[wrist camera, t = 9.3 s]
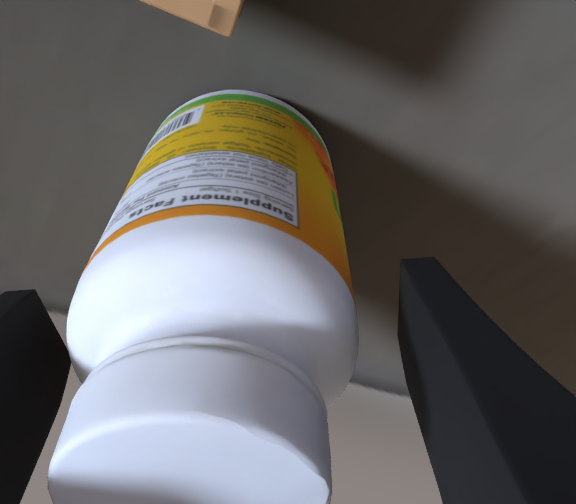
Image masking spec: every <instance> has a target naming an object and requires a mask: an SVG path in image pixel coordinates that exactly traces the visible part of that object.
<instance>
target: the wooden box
mask: <svg viewBox="0 0 576 504" xmlns="http://www.w3.org/2000/svg"><path fill="white" fill-rule="evenodd" d="M139 1H142V2H144V3H146V4H149V5H151V6H154V7H156V8H158V9H161V10H163V11H166V12H168V13H170V14H173V15H175V16H178V17H180V18H182V19H185V20H187V21H190V22H192V23H194V24H197V25H199V26H201V27H204V28H206V29H209V30H211V31H213V32H216V33H218V34H221V35H223V36H225V37H231V36H232V34H233V31H234V28H235V25H236V23H237V20H238V18H239V16H240V14H241V11H242V8H243V5H244V2H245V0H139Z"/></svg>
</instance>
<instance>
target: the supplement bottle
mask: <svg viewBox="0 0 576 504" xmlns="http://www.w3.org/2000/svg"><path fill="white" fill-rule="evenodd" d="M66 337H67V344H68V352H69V356H70V359H71V362H72V365H73V368H74V370H75V372H76V374H77V376H78V378H79V380H80V381H81V383H82V386H81V387H80V388H79V389H78V391H77V393H76V395H75V396H74V398H73V400H72V403H71V406H70V409H69V412H68V416H67V419H66V422H65V424H64V427H63V430H62V433H61V435H60V438H59V441H58V443H57V446H56V449H55V451H54V454H53V457H52V460H51V462H50V465H49V471H48V490H49V493H50V496H51V499H52V501H53V504H330V501H331V495H332V477H331V456H330V445H329V434H328V423H327V410H328V409H329V408H330V407H331V406H332V405H333V404H334V403H335V402H336V401H337V400H338V398H339V397H340V395H341V394H342V392H343V391H344V390H345V388H346V386H347V385H348V383H349V381H350V378H351V376H352V374H353V371H354V368H355V365H356V360H357V355H358V347H359V334H358V323H357V312H356V306H355V300H354V294H353V287H352V281H351V275H350V269H349V263H348V257H347V251H346V245H345V238H344V232H343V226H342V220H341V215H340V209H339V202H338V196H337V190H336V184H335V179H334V172H333V168H332V164H331V160H330V156H329V153H328V151H327V148H326V146H325V144H324V142H323V140H322V138H321V136H320V135H319V133H318V132H317V130H316V129H315V128H314V126H313V125H312V124H311V123H310V122H309V121H308V120H307V119H306V118H305V117H304V116H303V115H302V114H301V113H300V112H298V111H297V110H296V109H294V108H293V107H291V106H290V105H288V104H286V103H285V102H283V101H281V100H278V99H276V98H274V97H271V96H268V95H265V94H262V93H258V92H254V91H248V90H222V91H216V92H211V93H208V94H205V95H202V96H199V97H197V98H195V99H192V100H190V101H188V102H187V103H185V104H183V105H182V106H180V107H179V108H177V109H176V110H175V111H173V112H172V113H171V114H170V115H169V116H168V117H167V118H166V119H165V120H164V122H163V123H162V124H161V125H160V127H159V128H158V130H157V131H156V133H155V134H154V136H153V137H152V139H151V141H150V143H149V144H148V146H147V148H146V150H145V152H144V154H143V156H142V157H141V159H140V161H139V164H138V166H137V168H136V170H135V172H134V174H133V176H132V178H131V180H130V182H129V184H128V186H127V187H126V190H125V192H124V194H123V196H122V198H121V200H120V202H119V204H118V206H117V208H116V210H115V212H114V214H113V215H112V217H111V219H110V221H109V223H108V225H107V227H106V229H105V231H104V233H103V235H102V237H101V239H100V241H99V243H98V245H97V247H96V248H95V250H94V252H93V254H92V256H91V258H90V260H89V262H88V264H87V266H86V267H85V269H84V272H83V274H82V276H81V278H80V280H79V282H78V285H77V288H76V291H75V294H74V296H73V299H72V302H71V305H70V309H69V314H68V319H67V335H66Z"/></svg>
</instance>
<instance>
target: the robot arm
mask: <svg viewBox="0 0 576 504" xmlns="http://www.w3.org/2000/svg"><path fill="white" fill-rule="evenodd" d="M398 340H399V346H400V352H401V357H402V363H403V368H404V373H405V378H406V383H407V386H408V390H409V393H410V396H411V400H412V403H413V406H414V410H415V413H416V416H417V420H418V423H419V426H420V429H421V432H422V436H423V439H424V442H425V445H426V449H427V452H428V455H429V458H430V462H431V465H432V468H433V471H434V475H435V478H436V481H437V484H438V488H439V491H440V495H441V498H442V502H443V504H576V397H575V396H574V395H573V394H572V393H571V392H569V391H568V390H567V389H566V388H565V387H563V386H562V385H561V384H560V383H559V382H558V381H556V380H555V379H554V378H553V377H552V376H551V375H549V374H548V373H547V372H546V371H545V370H544V369H543V368H542V367H541V366H539V365H538V364H537V363H536V362H535V361H534V360H533V359H532V358H531V357H529V356H528V355H527V354H526V353H525V352H524V351H523V350H522V349H521V348H520V347H519V346H518V345H517V344H516V343H515V342H513V341H512V340H511V339H510V338H509V337H508V336H507V335H506V334H505V333H504V332H503V331H502V330H501V329H500V328H499V327H498V326H497V325H496V324H495V323H494V322H493V321H492V320H491V319H490V318H489V317H488V316H487V315H486V314H485V313H484V311H483V310H482V309H481V308H480V307H479V306H478V305H477V304H476V303H475V302H474V301H473V300H472V299H471V298H470V297H469V295H468V294H467V293H466V292H465V291H464V290H463V289H462V288H461V287H460V286H459V284H458V283H457V282H456V281H455V280H454V279H453V278H452V276H451V275H450V274H449V273H448V272H447V271H446V270H445V268H444V267H443V266H442V265H441V264H440V263H439V261H437V260H436V259H435V258H434V257H426V258H414V259H401V265H400V289H399V312H398ZM70 365H71V359H70V356H69V352H68V350H67V348H66V346H65V344H64V342H63V340H62V339H61V337H60V335H59V333H58V331H57V329H56V327H55V326H54V324H53V322H52V320H51V318H50V316H49V314H48V312H47V311H46V309H45V307H44V305H43V303H42V301H41V299H40V298H39V296H38V294H37V292H36V290H35V289H32V290H19V291H7V292H4V293H3V294H1V295H0V504H20V501H21V499H22V497H23V494H24V492H25V490H26V487H27V485H28V482H29V480H30V477H31V475H32V473H33V470H34V468H35V466H36V463H37V461H38V458H39V456H40V454H41V451H42V449H43V447H44V444H45V442H46V439H47V437H48V434H49V432H50V429H51V427H52V424H53V422H54V420H55V417H56V415H57V412H58V410H59V407H60V404H61V401H62V397H63V393H64V390H65V386H66V383H67V378H68V374H69V370H70Z"/></svg>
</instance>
